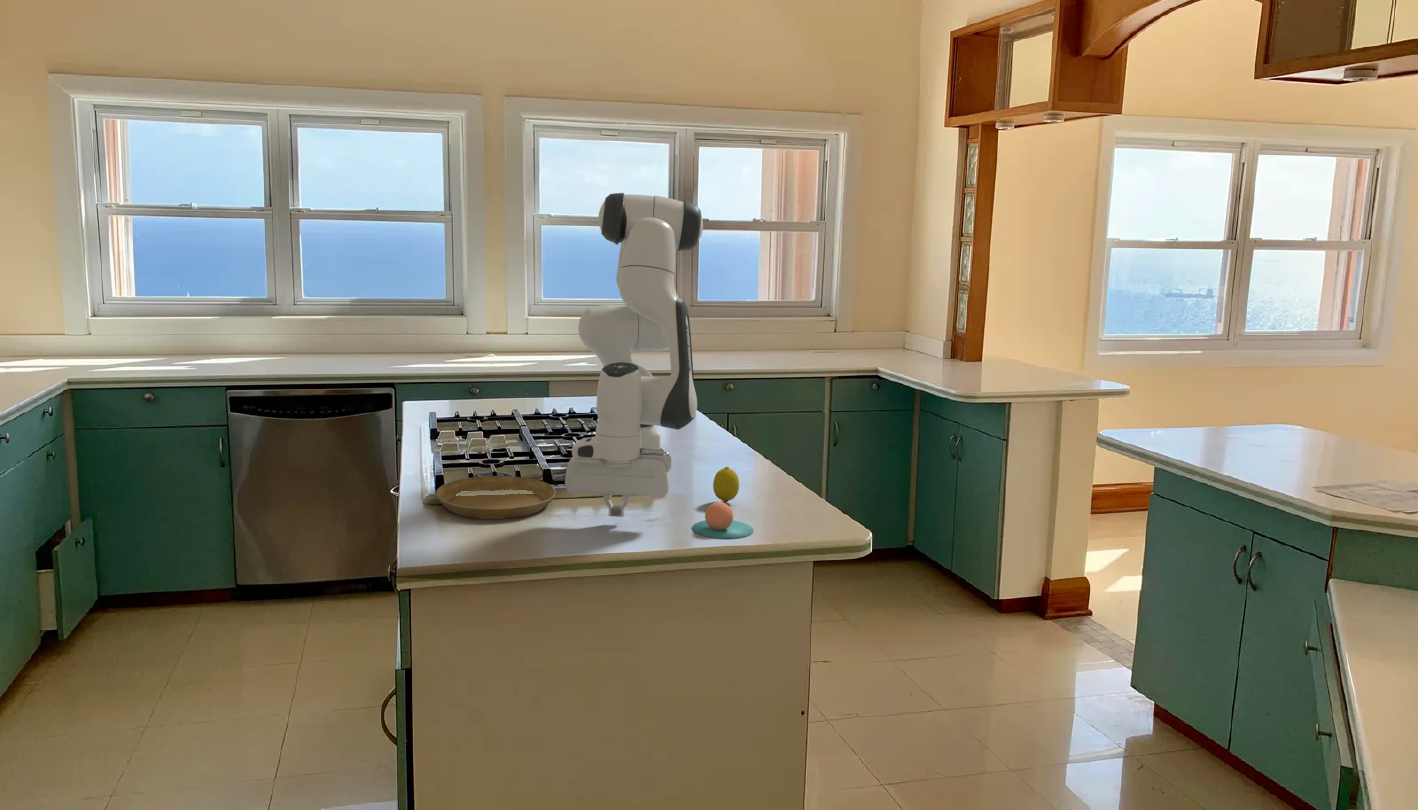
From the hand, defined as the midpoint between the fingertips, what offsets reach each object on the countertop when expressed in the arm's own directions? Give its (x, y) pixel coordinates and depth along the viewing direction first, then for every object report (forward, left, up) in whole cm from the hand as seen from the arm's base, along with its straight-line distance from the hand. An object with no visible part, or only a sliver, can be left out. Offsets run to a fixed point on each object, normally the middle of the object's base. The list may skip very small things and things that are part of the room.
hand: (616, 515), depth 201 cm
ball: (0, +20, +1) cm, 20 cm away
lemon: (-19, +21, -2) cm, 28 cm away
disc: (0, +21, -2) cm, 21 cm away
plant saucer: (-9, -26, -2) cm, 28 cm away
